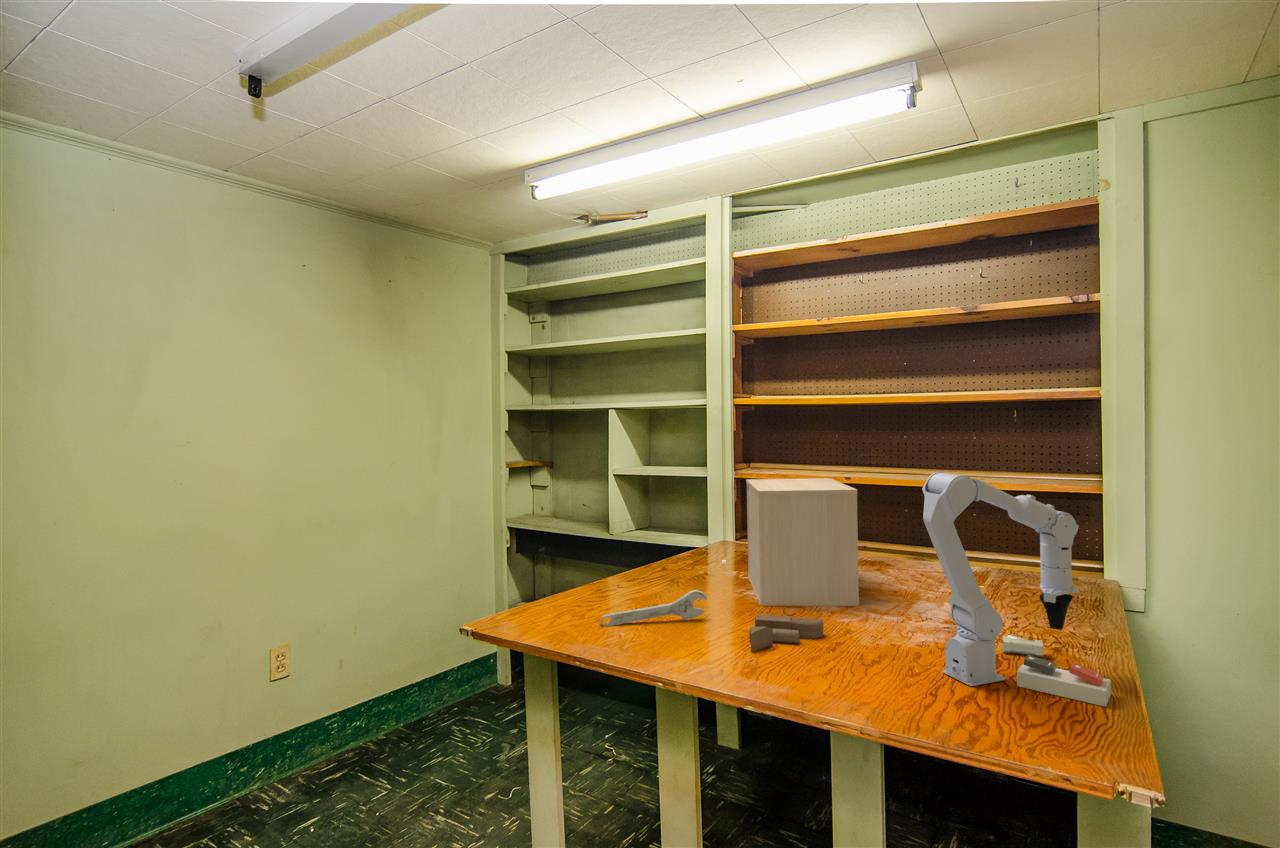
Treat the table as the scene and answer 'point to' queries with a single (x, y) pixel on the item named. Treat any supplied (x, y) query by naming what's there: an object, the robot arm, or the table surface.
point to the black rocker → (1040, 664)
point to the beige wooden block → (802, 542)
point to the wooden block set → (782, 630)
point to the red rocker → (1086, 674)
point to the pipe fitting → (1022, 646)
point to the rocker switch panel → (1064, 685)
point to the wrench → (660, 610)
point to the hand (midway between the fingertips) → (1056, 628)
